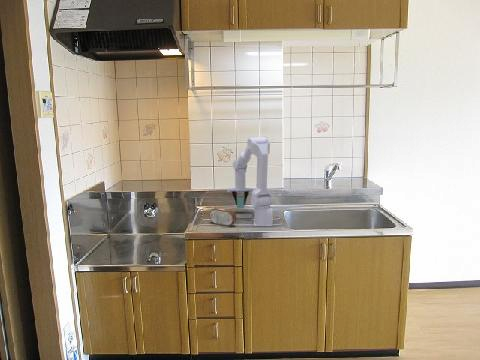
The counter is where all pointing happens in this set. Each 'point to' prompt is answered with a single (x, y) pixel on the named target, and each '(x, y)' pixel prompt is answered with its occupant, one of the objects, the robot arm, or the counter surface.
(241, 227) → the counter surface
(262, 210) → the robot arm
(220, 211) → the tin
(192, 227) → the counter surface
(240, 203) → the block
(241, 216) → the pad
